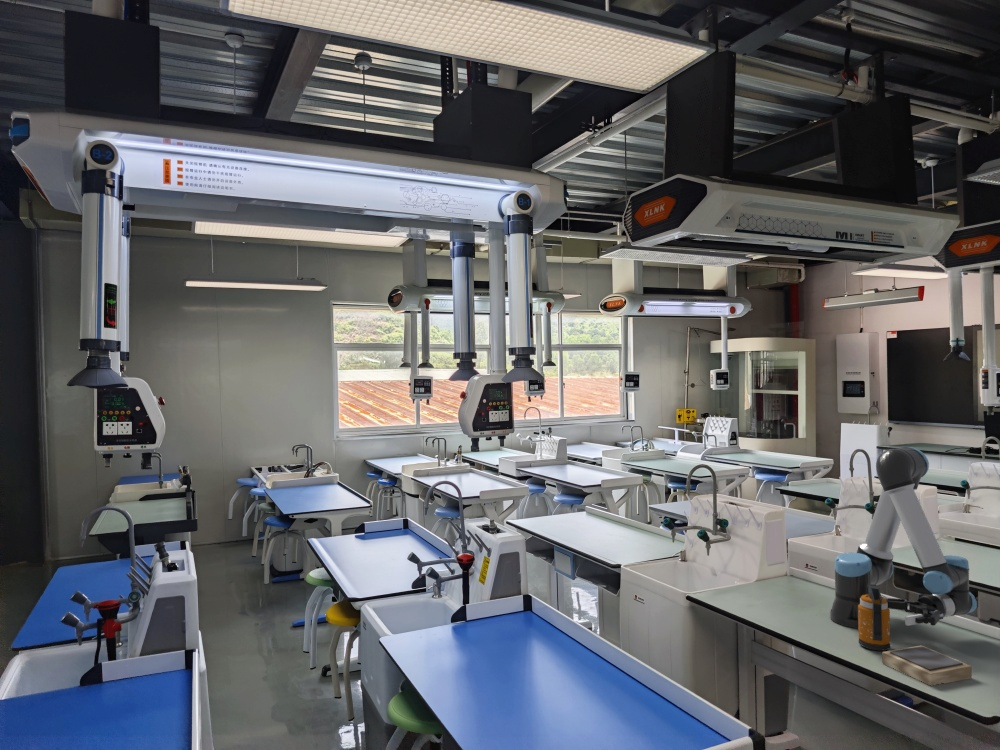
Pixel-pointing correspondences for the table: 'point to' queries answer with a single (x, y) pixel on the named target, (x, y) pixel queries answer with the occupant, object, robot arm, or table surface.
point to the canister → (874, 620)
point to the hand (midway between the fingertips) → (887, 613)
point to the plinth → (927, 665)
